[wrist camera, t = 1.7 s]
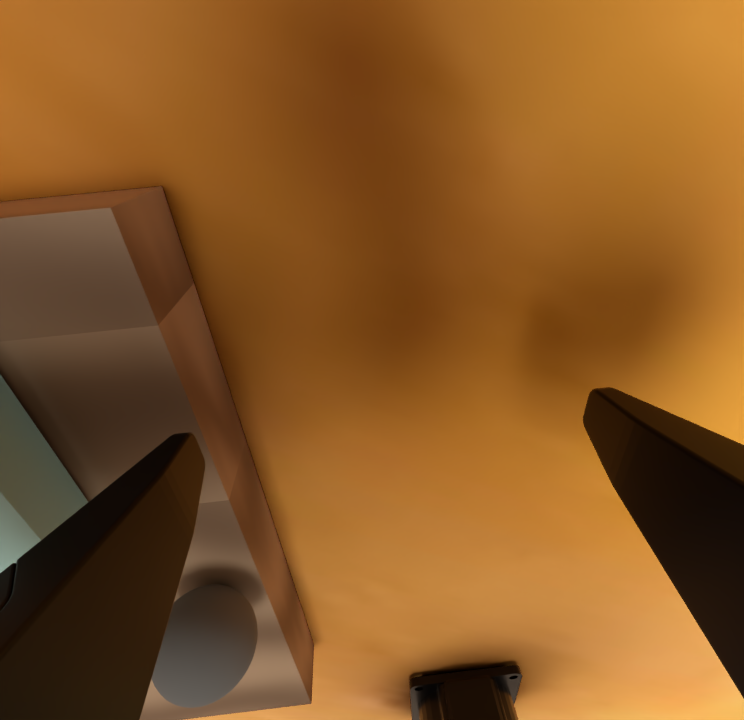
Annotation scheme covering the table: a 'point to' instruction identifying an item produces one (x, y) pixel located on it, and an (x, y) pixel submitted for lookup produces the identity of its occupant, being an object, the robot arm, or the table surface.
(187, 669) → the matte grey ball
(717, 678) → the table surface
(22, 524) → the cover
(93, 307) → the board
